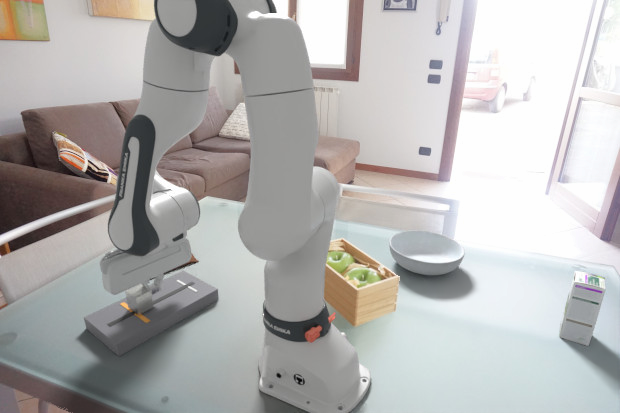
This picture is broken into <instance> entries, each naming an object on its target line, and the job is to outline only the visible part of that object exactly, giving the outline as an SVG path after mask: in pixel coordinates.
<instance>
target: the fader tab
mask: <svg viewBox="0 0 620 413" xmlns="http://www.w3.org/2000/svg"><path fill="white" fill-rule="evenodd" d="M124 292H125V298H127V304H128V308H130V309H131V310H133V311H134V312H135V313H137V314H138V315H140V314H142V313H143V312H145V311H147V310H149V309H151V308H153V301H152V295H151V291H150V290H149V289H147V288H145V287H144V286H142V285H141V284H139V285H137V286H134V287H132V288H130V289H128V290H125V291H124Z"/></svg>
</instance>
